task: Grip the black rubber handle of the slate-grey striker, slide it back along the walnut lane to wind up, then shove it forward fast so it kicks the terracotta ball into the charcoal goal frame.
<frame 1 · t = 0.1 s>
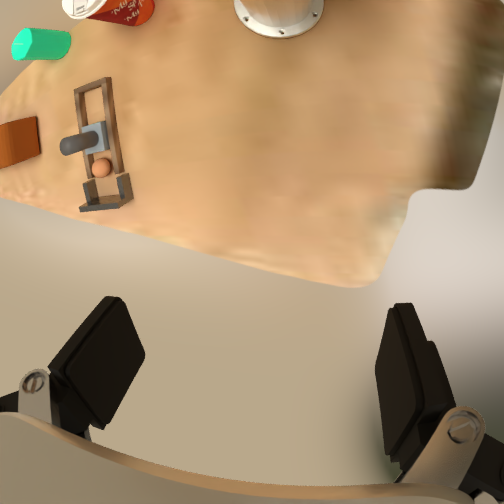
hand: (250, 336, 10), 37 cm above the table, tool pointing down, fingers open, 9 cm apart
ball: (101, 168, 46), point 2 cm above the table
candle: (61, 45, 37), on the table
alarm clock: (12, 143, 48), on the table
goal: (111, 188, 49), on the table
striker: (84, 141, 40), point 5 cm above the table, slide at 0.0 cm
lane: (100, 130, 44), on the table
coffee cup: (139, 10, 34), on the table
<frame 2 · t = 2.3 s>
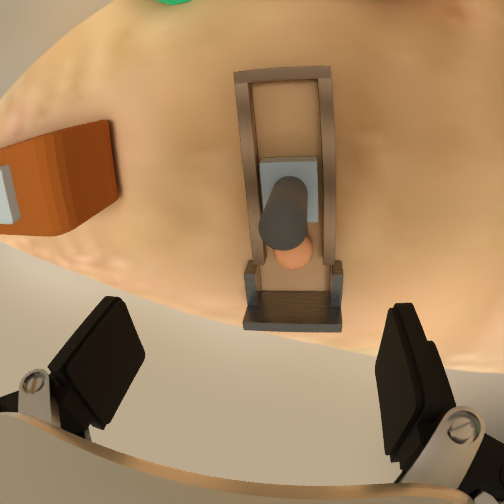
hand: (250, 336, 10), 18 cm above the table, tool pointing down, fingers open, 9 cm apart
ball: (293, 250, 27), point 2 cm above the table
alarm clock: (47, 167, 29), on the table
goal: (295, 280, 30), on the table
striker: (288, 202, 21), point 5 cm above the table, slide at 0.0 cm
lane: (290, 173, 25), on the table
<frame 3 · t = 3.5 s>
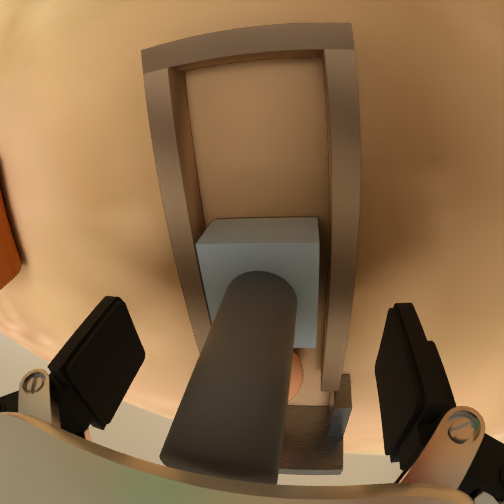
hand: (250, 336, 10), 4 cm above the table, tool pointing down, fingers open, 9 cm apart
ball: (270, 374, 15), point 2 cm above the table
goal: (277, 395, 18), on the table
striker: (250, 343, 10), point 5 cm above the table, slide at 0.0 cm
lane: (267, 248, 13), on the table
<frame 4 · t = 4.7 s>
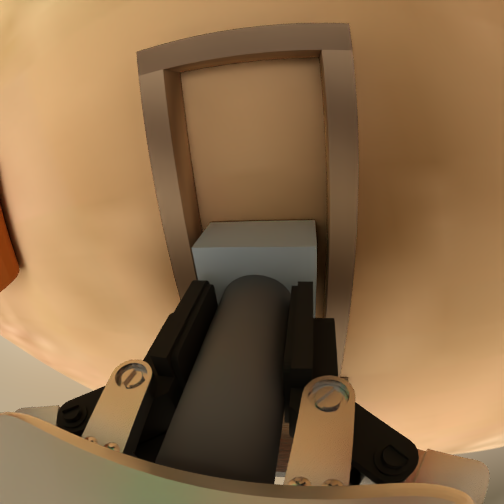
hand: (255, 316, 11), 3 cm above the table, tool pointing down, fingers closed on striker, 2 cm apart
goal: (275, 397, 18), on the table
striker: (247, 348, 9), point 5 cm above the table, slide at 0.0 cm, touching gripper
lane: (264, 251, 13), on the table
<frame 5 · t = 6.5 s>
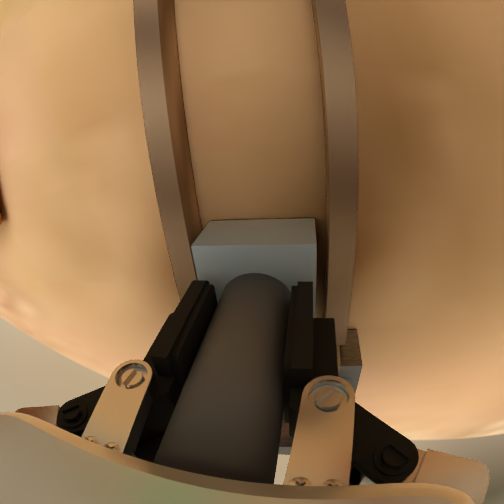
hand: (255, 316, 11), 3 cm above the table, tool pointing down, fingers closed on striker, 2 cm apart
goal: (272, 359, 16), on the table
striker: (247, 346, 9), point 5 cm above the table, slide at 3.9 cm, touching gripper
lane: (256, 161, 11), on the table
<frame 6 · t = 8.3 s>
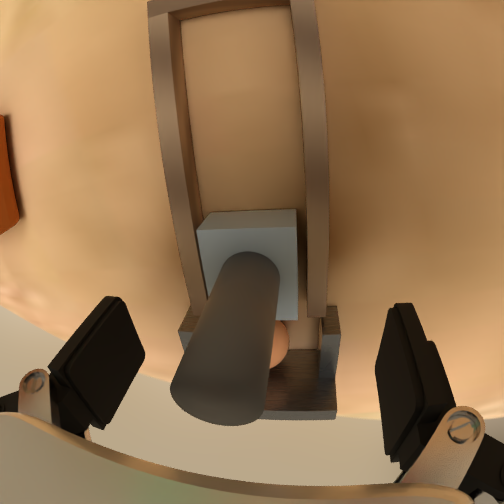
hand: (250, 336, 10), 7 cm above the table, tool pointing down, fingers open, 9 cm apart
ball: (259, 341, 17), point 2 cm above the table, tilted 85°
goal: (264, 335, 19), on the table
striker: (241, 307, 12), point 5 cm above the table, slide at 3.9 cm
lane: (248, 162, 14), on the table
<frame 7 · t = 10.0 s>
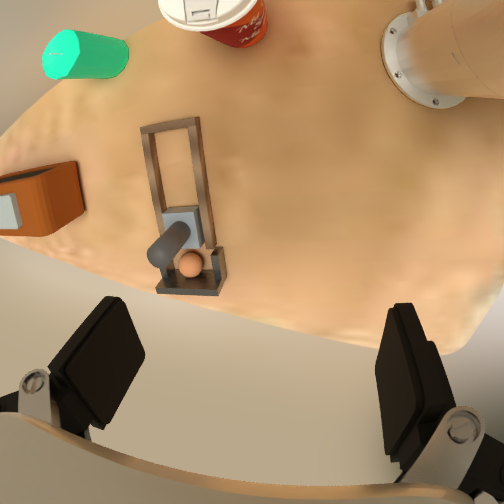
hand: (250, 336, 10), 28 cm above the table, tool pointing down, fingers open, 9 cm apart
ball: (190, 265, 41), point 2 cm above the table, tilted 106°
candle: (111, 58, 31), on the table
alarm clock: (39, 190, 42), on the table
goal: (194, 261, 43), on the table
striker: (173, 238, 36), point 5 cm above the table, slide at 3.9 cm
lane: (181, 188, 38), on the table
coffee cup: (242, 25, 27), on the table
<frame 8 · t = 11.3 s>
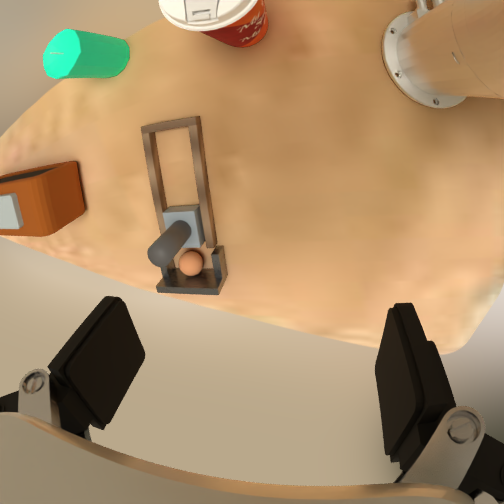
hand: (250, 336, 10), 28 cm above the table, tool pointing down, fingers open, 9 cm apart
ball: (190, 263, 41), point 2 cm above the table, tilted 103°
candle: (112, 57, 31), on the table
alarm clock: (40, 189, 42), on the table
goal: (195, 260, 43), on the table
striker: (174, 237, 36), point 5 cm above the table, slide at 3.9 cm
lane: (182, 187, 38), on the table
coffee cup: (242, 25, 27), on the table
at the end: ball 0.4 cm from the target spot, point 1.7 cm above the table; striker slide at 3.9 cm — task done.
